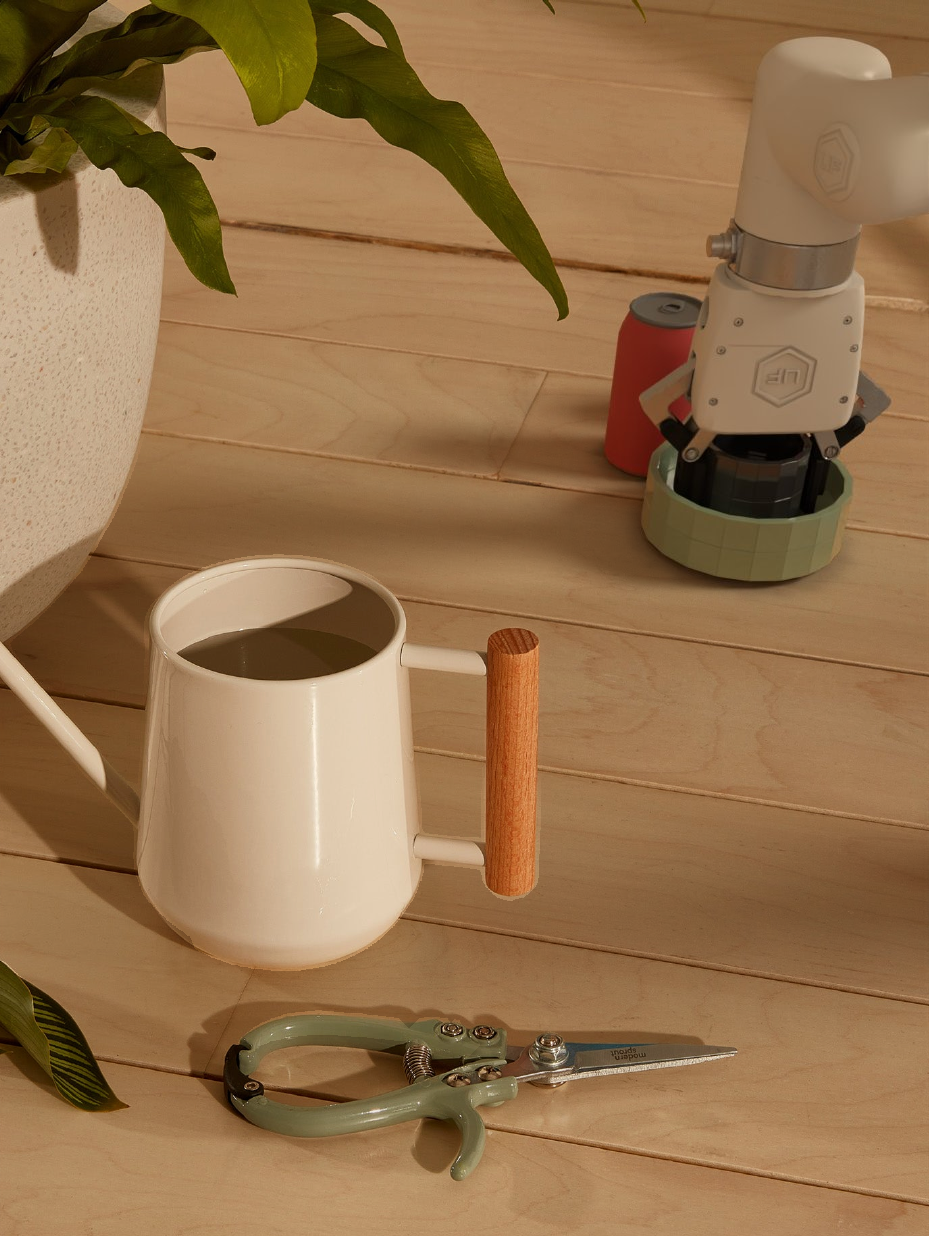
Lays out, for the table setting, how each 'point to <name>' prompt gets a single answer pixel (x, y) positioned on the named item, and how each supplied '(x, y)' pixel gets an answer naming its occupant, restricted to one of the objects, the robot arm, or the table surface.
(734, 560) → the big bowl
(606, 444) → the beer can
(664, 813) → the table surface
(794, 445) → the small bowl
